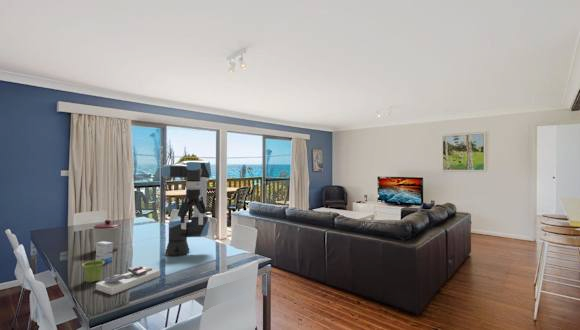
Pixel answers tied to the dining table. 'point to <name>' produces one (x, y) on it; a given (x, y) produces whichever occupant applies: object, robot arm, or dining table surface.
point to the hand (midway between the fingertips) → (192, 226)
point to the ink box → (104, 251)
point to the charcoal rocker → (137, 270)
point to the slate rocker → (114, 278)
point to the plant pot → (92, 270)
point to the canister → (107, 233)
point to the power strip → (127, 281)
